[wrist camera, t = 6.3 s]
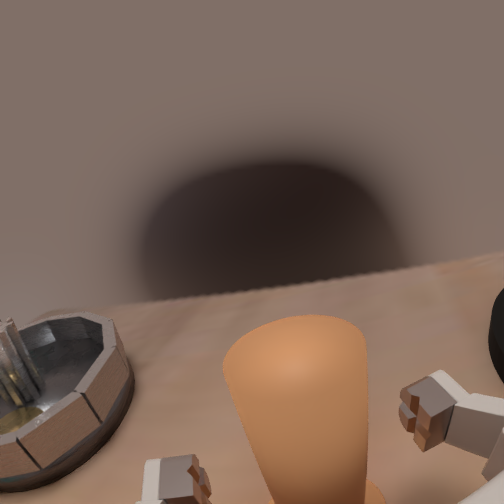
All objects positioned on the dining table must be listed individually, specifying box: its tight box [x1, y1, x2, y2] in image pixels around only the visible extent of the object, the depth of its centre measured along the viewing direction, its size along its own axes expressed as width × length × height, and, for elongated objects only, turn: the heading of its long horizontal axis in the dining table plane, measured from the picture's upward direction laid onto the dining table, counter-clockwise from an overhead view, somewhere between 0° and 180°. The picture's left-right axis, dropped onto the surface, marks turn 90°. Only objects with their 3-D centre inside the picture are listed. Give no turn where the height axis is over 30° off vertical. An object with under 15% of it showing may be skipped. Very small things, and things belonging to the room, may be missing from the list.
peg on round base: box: [223, 315, 386, 504], centre depth 8 cm, size 5×5×10 cm
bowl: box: [0, 311, 134, 492], centre depth 19 cm, size 20×20×8 cm
